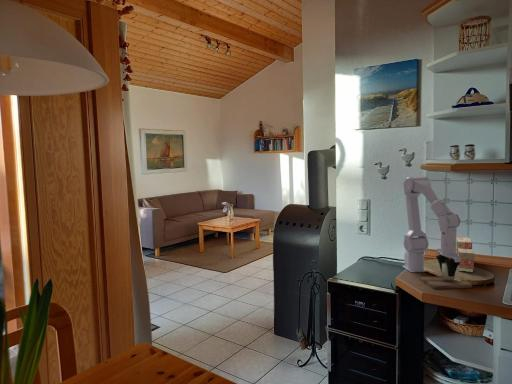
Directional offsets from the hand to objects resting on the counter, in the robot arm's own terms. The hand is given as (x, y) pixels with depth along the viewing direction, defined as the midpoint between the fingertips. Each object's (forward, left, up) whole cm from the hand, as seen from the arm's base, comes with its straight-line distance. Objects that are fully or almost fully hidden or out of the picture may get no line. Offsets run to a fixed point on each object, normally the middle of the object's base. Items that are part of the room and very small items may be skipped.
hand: (447, 274), depth 164 cm
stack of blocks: (-23, +22, -4) cm, 32 cm away
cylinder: (0, 0, -2) cm, 2 cm away
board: (0, -1, -4) cm, 4 cm away
